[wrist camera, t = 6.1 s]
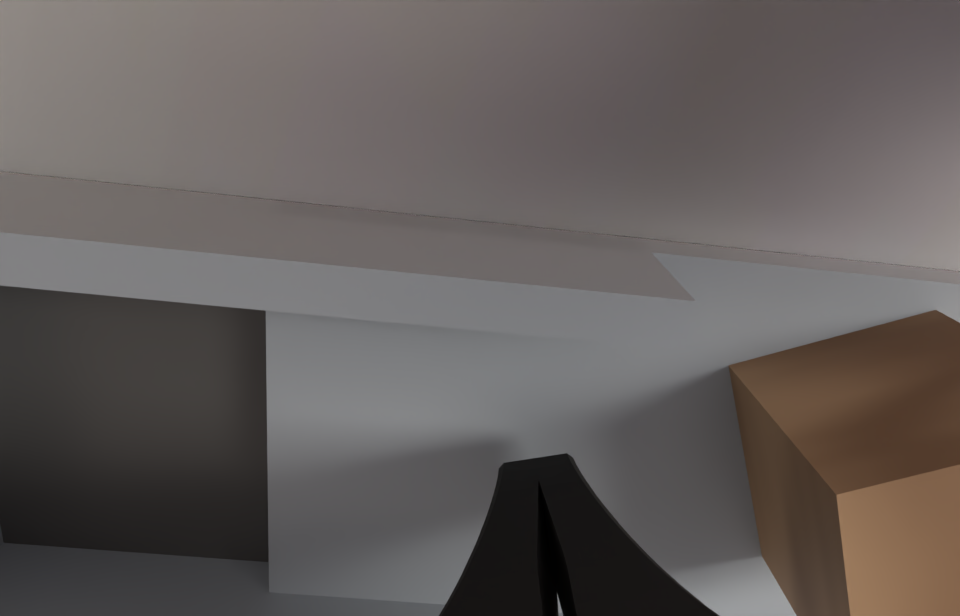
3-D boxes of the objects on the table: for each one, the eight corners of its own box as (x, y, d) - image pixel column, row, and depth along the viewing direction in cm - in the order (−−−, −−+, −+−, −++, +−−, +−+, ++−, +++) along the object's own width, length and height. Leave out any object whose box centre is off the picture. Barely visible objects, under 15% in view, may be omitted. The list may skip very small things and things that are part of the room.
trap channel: (1203, 296, 13) (1438, 375, 10) (1013, 637, 17) (1143, 776, 14) (-113, 159, 12) (-331, 199, 9) (-23, 563, 15) (-155, 700, 12)
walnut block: (935, 309, 12) (1137, 420, 9) (944, 512, 14) (1114, 676, 10) (728, 365, 13) (836, 494, 9) (761, 556, 14) (863, 730, 11)
